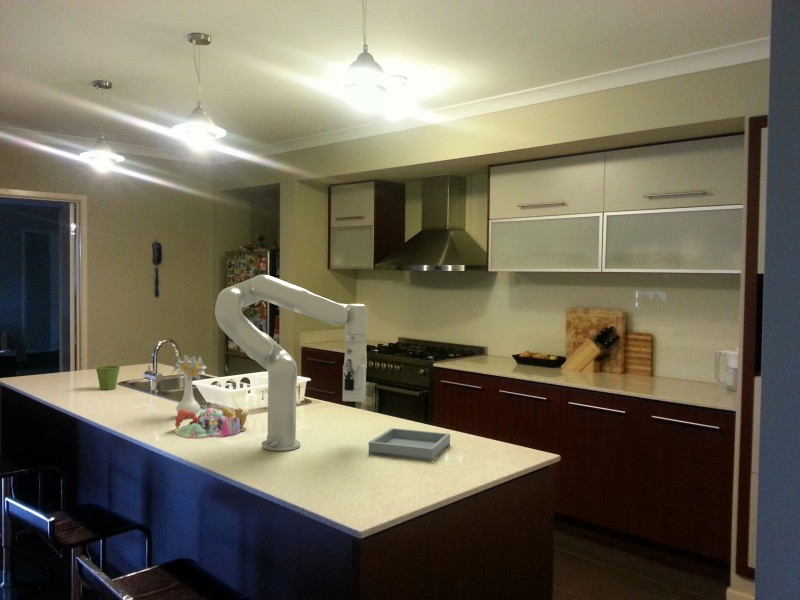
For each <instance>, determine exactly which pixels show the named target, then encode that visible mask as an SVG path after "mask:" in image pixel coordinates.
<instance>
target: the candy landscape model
mask: <svg viewBox="0 0 800 600" xmlns="http://www.w3.org/2000/svg"><path fill="white" fill-rule="evenodd" d="M247 416H248V413H243V408H239V407H238V408H235V411H232V410H231V409H230V408H228V407H227V406H224V407H221V408H220V409H215V408H214V407H209V408H207V409H206V410H201V411H199V414H198V416H197V415H196V416H195V413H194V412H189V413H188V411H187V410H186V409H181V410H179V411H178V412H177V415H176V417H175V419H174V420H175V423H174V424H175V425H174V426H175V427H176V428H175V429H174V430H173V433H174V434H175V435H177V436H179V437H182V438H186V439H187V438H188V439H205V438H209V437H212V438H213V437H214V438H217V437H220V438H221V437H223V438H225V437H227V436H232V435H238V434H240V433H241V432H243V431H245V430H247V427H245V426H244V425H245V423H246V421H247ZM187 419H192V420H191V421H189V423H188V424H186V425H181V423H183V421H186V420H187Z"/></svg>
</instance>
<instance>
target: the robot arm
mask: <svg viewBox="0 0 800 600" xmlns="http://www.w3.org/2000/svg"><path fill="white" fill-rule="evenodd" d="M259 301H264V302H267V303H270V304H273V305H275V306H278V307H281V308H283V309H286V310H289V311H292V312H295V313H296V314H297V313H298V314H301V315H305V316H308V317H311V318H314V319H316V320H319V321H320V322H321V321H322V322H323V323H327V324H330V325H332V326H337V327H338V326H342V325H343V324H344V327H345V328H344V343H345V351H344V360H343V361H344V362H343V363H344V364H343V365H344V368H343V367H342V371H343V370H344V375H345V376H344V378H345V390H349V391H353V390H354V379H353V376H354V371H355V372H359V366H360V365H364V364H366V369H367V368H368V365H367V363H368V361H367V360H368V357H367V356H368V354H367V330H368V329H367V328H368V327H367V326H368V325H367V324H368V322H367V321H368V307H367V306H366V304H364V303H348V304H346V303H338V302H336V301H334V300H330V299H328V298H325V297H322V296H320V295H318V294H315V293H314V292H311V291H309V290H308V289H305V288H302V287H300V286H297V285H294V284H291V283H289V282H287V281H284V280H282V279H279V278H277V277H274V276H271V275H267V274H264V273H263V274H258V275H256V276H254V277H251V278H249V279H246V280H244V281H241V282H238V283H236V284H233V285H230V286H228V287H226V288H224V289H222V290H221V291H220V292H219V294H218V296H217V298H216V302H215V307H214V314H215V319H216V322H217V325H218V326H219V328H220V329H221V331H222V332H224V333H225V335H227V336H228V338H230V339H231V340H232V341H233V343H235V344H236V345H237V346H238V347H239V348H240V349H241V350H242V351H244V353H245V354H246V356H248V357H249V358H250V359H251V360H254V361H255V362H257V363H258V364H259V365H260V366H261V367H262V368H264V369H265V370H266V371H267V373H268V375H267V376H268V378H267V435H266V440H263V441H261V446H262V447H263V449H265V450H268V451H272V452H283V451H285V452H286V451H293V450H296V449H298V448H299V447H301V442H300V441H299V440H297V438H296V437H297V436H296V435H297V434H296V433H297V431H296V429H297V385H298V383H297V382H298V381H297V380H298V366H297V363H296V361H295V359H294V358H293V356H291V354H289V352H287V351H286V350H285V349H284V348H283V347H282V346H281V345H280V344H279V343H278V342H276V340H274V339H273V338H272V337H271V336H270V335H269V334H268V333H266V332H264V331H261V330H260V329H259V328H258V327H257V326H255V325H254V324H253V322H252V321H250V320H249V319H248V318H247V317H246V316H245V315H244V313H243V311H242V309H243V308H246V307H248V306H250V305H252V304H256V303H258V302H259ZM350 366H352V369H353V370H349V367H350ZM350 373H351V374H350Z"/></svg>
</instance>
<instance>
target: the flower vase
mask: <svg viewBox="0 0 800 600" xmlns="http://www.w3.org/2000/svg"><path fill="white" fill-rule="evenodd" d="M206 369H207V365H206V364H205V362H204V360H202V357H201V356H199V357H198V360H197V357H196V355H195V356H194V355H193V356H192V357H189V356H188V355H186V354H184V355H183V360H180V357H178V358H177V362H176V363H175V366H174V367H173V371H172V372H171V374H173V373H175V371H176V375H181V374H183V377H184V389H183V390H184V391H183V395H182V396H183V397H182V399H181V400H180V401H179V402H178V403H177V406H176V413H178V411H179V410H181V409H186V410H187V411H188V413H189V412H194V413H195V416H196V417H197V414H198V413H200V410H201V406H200V404H199V403H198V401H197V400H196V398H195V397H194V392H193V378H195V380H198V381H200V380H201V379H202V378H201V375H200V373H201V374H203V375H206Z"/></svg>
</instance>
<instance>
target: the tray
mask: <svg viewBox="0 0 800 600" xmlns="http://www.w3.org/2000/svg"><path fill="white" fill-rule="evenodd" d="M449 445H450V446H451V433H445V432H434V431H427V430H426V431H425V430H415V429H406V428H405V429H404V428H396V427H391V428H389V429H388V430H386V431H384V432H383V433H381V434H380V435H378V436H377V437H375V438H374V439H372V440H370V441H369V442H368V455H374V456H381V457H389V458H398V459H408V460H415V461H416V460H417V461H422V462H423V461H424V462H431V461H433V460H434V459H435V458H436V457H437V456H438V455H439V456H440V455H441V454H443V452H444V451H445V450H447V448H448V446H449ZM450 446H449V447H450ZM439 456H438V457H439ZM438 457H437V458H438ZM437 458H436V459H437ZM436 459H435V460H436ZM435 460H434V461H435ZM434 461H433V462H434Z"/></svg>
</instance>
